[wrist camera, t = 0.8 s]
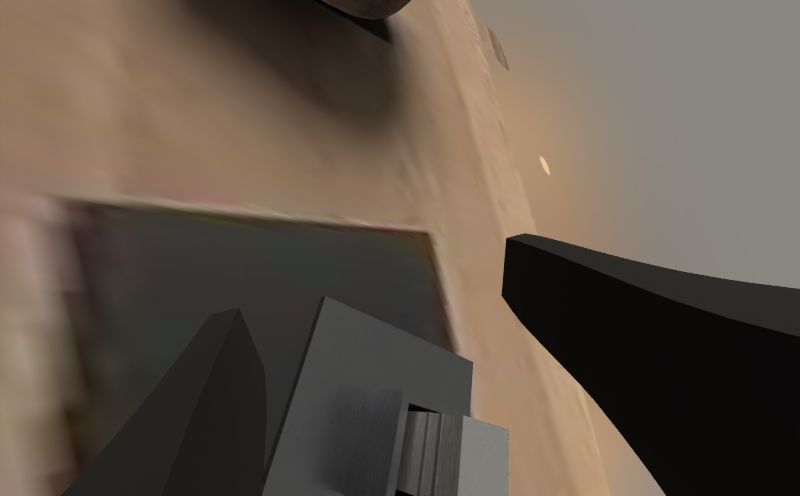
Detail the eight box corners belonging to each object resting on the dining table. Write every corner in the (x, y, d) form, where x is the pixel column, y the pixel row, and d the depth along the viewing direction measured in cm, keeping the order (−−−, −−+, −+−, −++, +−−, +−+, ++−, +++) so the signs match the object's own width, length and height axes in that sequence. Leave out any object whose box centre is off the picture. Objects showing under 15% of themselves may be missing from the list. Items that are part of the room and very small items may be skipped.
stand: (450, 595, 23) (508, 629, 20) (218, 612, 16) (250, 672, 12) (468, 362, 32) (510, 359, 28) (321, 297, 24) (356, 283, 21)
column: (407, 485, 23) (508, 516, 17) (359, 477, 21) (455, 511, 15) (416, 419, 25) (509, 429, 19) (374, 407, 23) (463, 414, 18)
